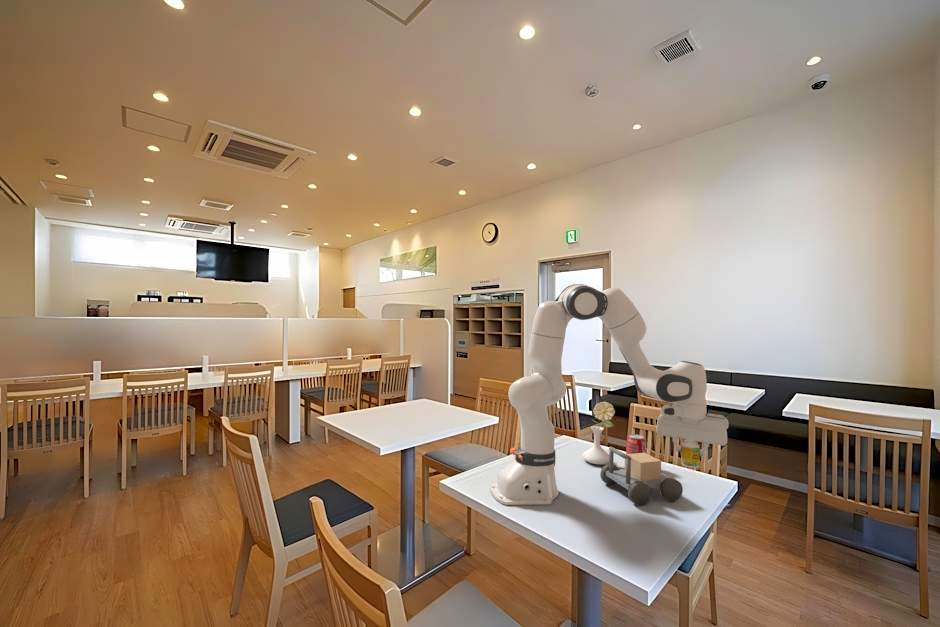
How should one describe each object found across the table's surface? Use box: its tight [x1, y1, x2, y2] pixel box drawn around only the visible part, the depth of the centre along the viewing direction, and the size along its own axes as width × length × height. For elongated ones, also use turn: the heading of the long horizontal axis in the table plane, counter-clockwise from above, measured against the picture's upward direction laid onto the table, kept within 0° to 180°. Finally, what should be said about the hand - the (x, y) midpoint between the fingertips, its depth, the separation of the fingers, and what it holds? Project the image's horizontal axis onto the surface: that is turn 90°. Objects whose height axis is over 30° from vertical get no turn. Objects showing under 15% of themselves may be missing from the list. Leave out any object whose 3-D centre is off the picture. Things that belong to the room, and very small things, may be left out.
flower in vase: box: [582, 401, 616, 466], centre depth 160 cm, size 13×11×25 cm
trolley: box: [600, 446, 683, 507], centre depth 133 cm, size 19×17×14 cm
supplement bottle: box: [680, 437, 701, 469], centre depth 129 cm, size 5×5×10 cm
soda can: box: [625, 433, 647, 454], centre depth 156 cm, size 7×7×12 cm
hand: (690, 453), depth 129 cm, fingers closed on supplement bottle, 5 cm apart
